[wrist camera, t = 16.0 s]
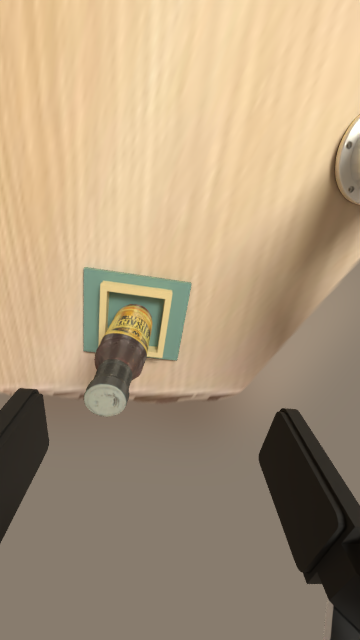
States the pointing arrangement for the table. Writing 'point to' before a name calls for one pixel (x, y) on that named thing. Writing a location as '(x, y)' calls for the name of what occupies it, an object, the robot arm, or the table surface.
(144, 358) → the sauce bottle
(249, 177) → the table surface
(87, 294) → the teal board with frame
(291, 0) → the table surface
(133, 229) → the table surface
